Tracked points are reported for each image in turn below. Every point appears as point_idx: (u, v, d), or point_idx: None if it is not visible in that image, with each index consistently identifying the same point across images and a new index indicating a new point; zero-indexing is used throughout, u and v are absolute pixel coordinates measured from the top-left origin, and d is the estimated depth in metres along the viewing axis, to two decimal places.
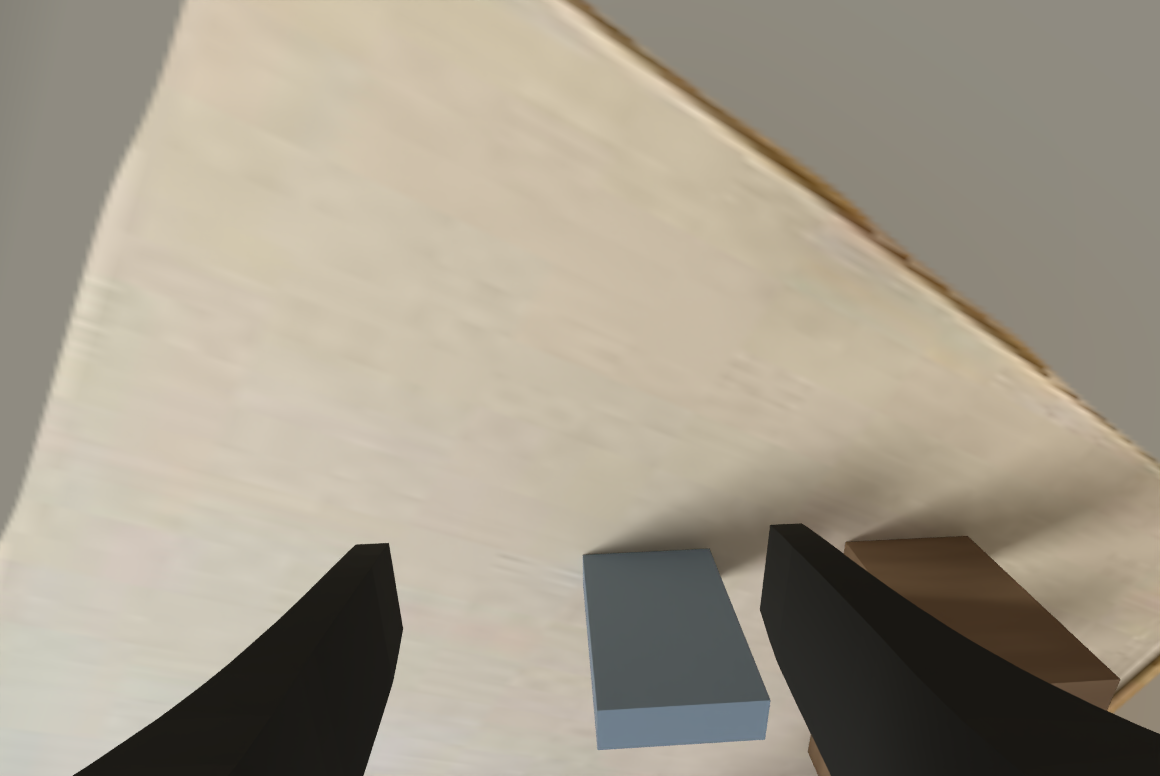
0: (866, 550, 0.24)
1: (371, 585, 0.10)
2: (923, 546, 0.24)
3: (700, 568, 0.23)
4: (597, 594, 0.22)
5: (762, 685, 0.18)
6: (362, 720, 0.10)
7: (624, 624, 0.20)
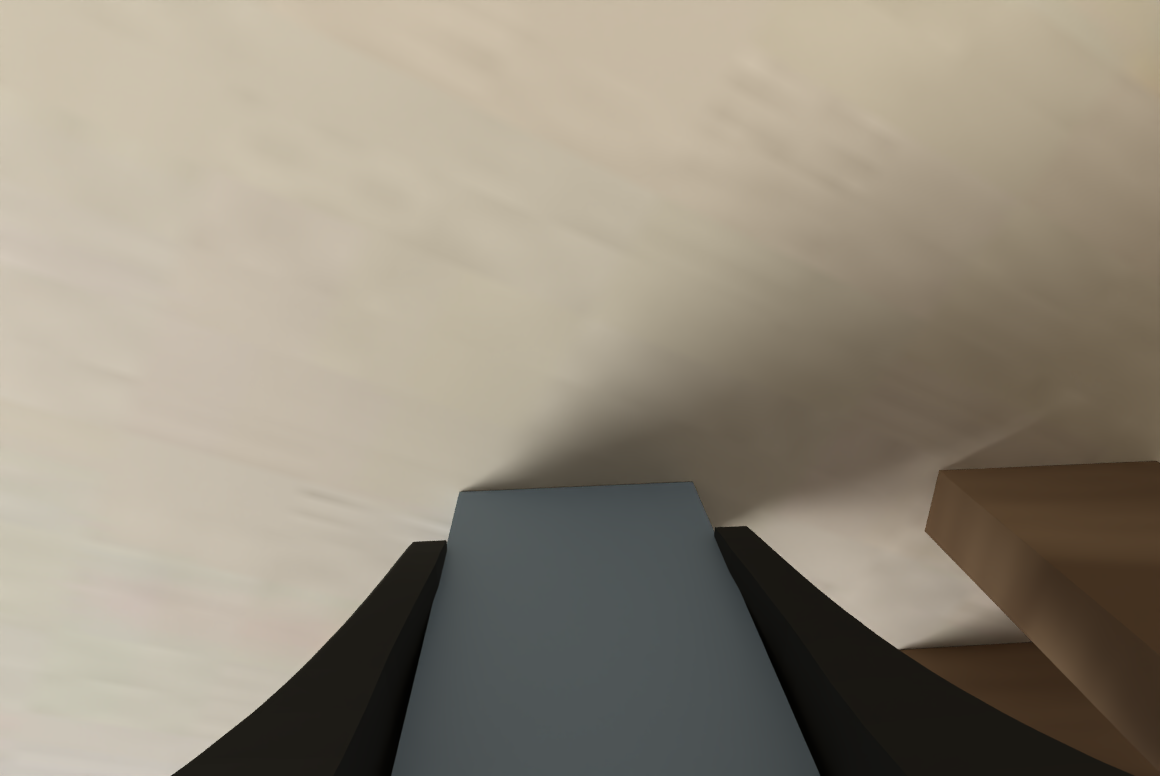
0: (980, 483, 0.13)
1: (435, 582, 0.10)
2: (1083, 476, 0.13)
3: (673, 513, 0.12)
4: (465, 559, 0.11)
5: (812, 769, 0.07)
6: None
7: (504, 618, 0.09)
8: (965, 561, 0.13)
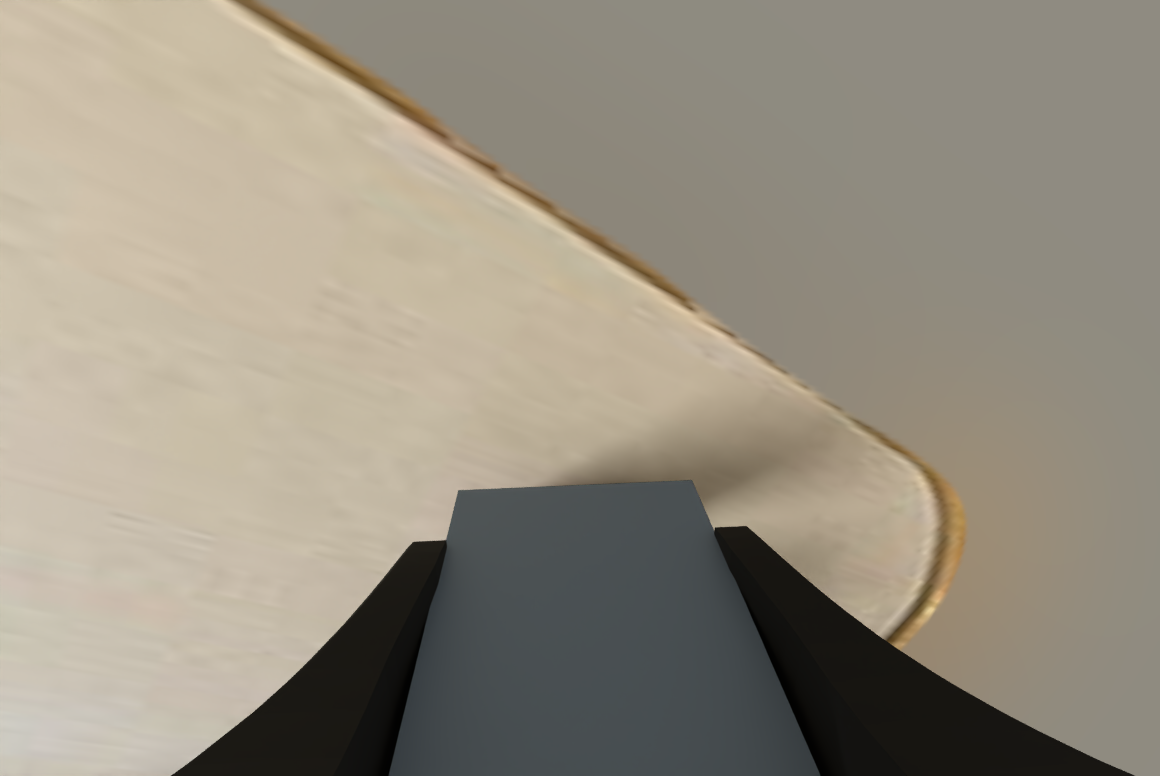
0: None
1: (434, 582, 0.10)
2: None
3: (673, 511, 0.12)
4: (463, 557, 0.11)
5: (812, 768, 0.07)
6: None
7: (503, 616, 0.09)
8: None
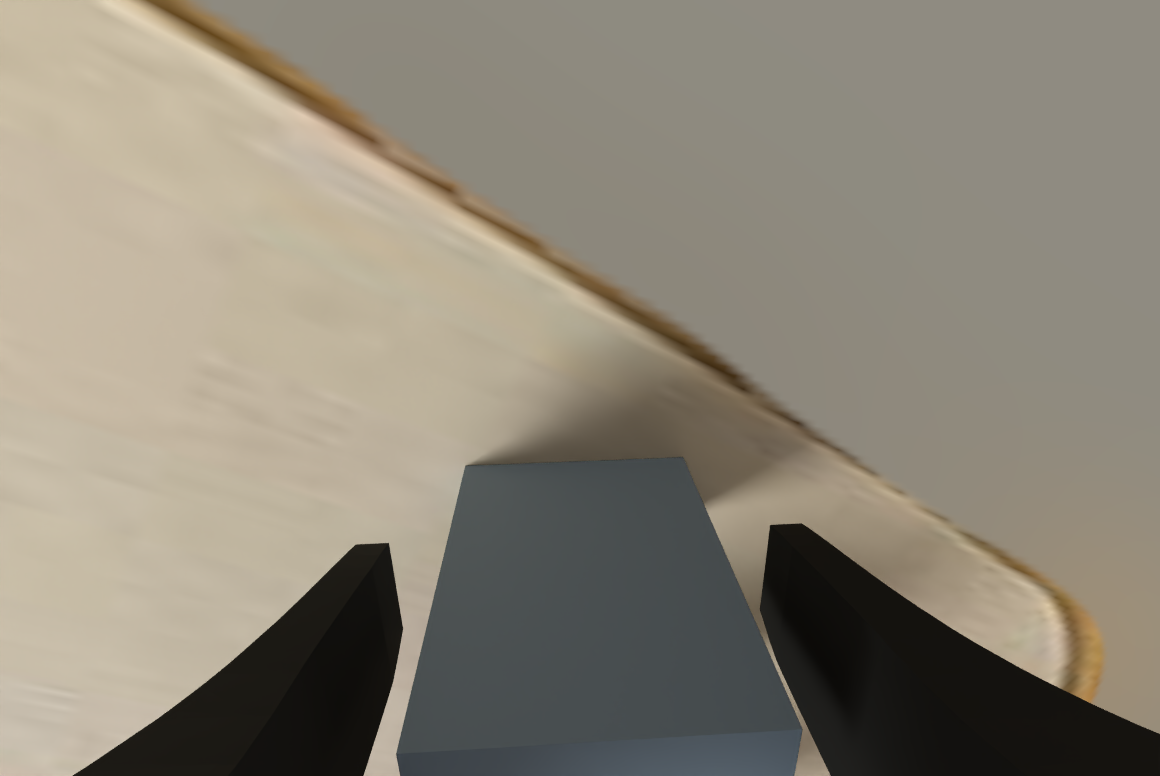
0: None
1: (370, 585, 0.10)
2: None
3: (665, 484, 0.13)
4: (471, 523, 0.12)
5: (782, 694, 0.08)
6: (362, 720, 0.10)
7: (508, 572, 0.10)
8: None
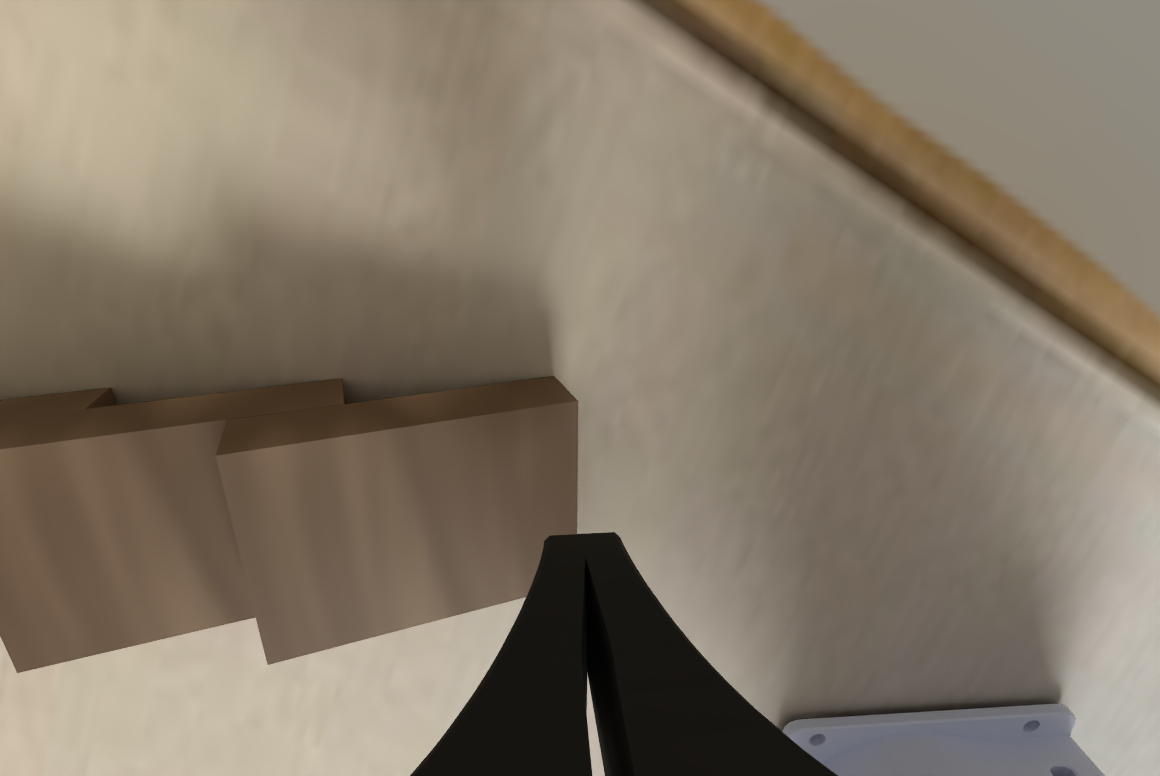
0: None
1: (585, 574, 0.10)
2: None
3: None
4: None
5: None
6: None
7: None
8: None
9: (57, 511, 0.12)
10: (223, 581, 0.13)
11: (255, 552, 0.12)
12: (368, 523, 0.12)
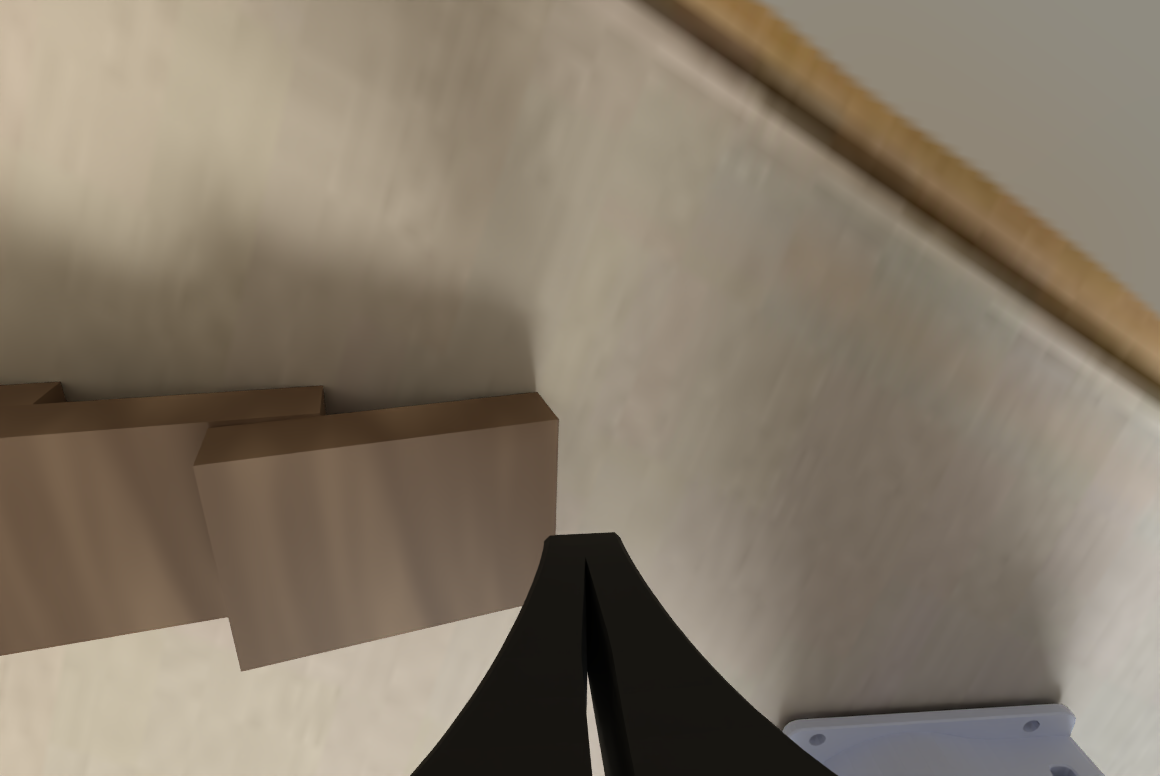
0: None
1: (585, 574, 0.10)
2: None
3: None
4: None
5: None
6: None
7: None
8: None
9: (27, 503, 0.12)
10: (190, 581, 0.14)
11: (231, 561, 0.12)
12: (345, 535, 0.13)
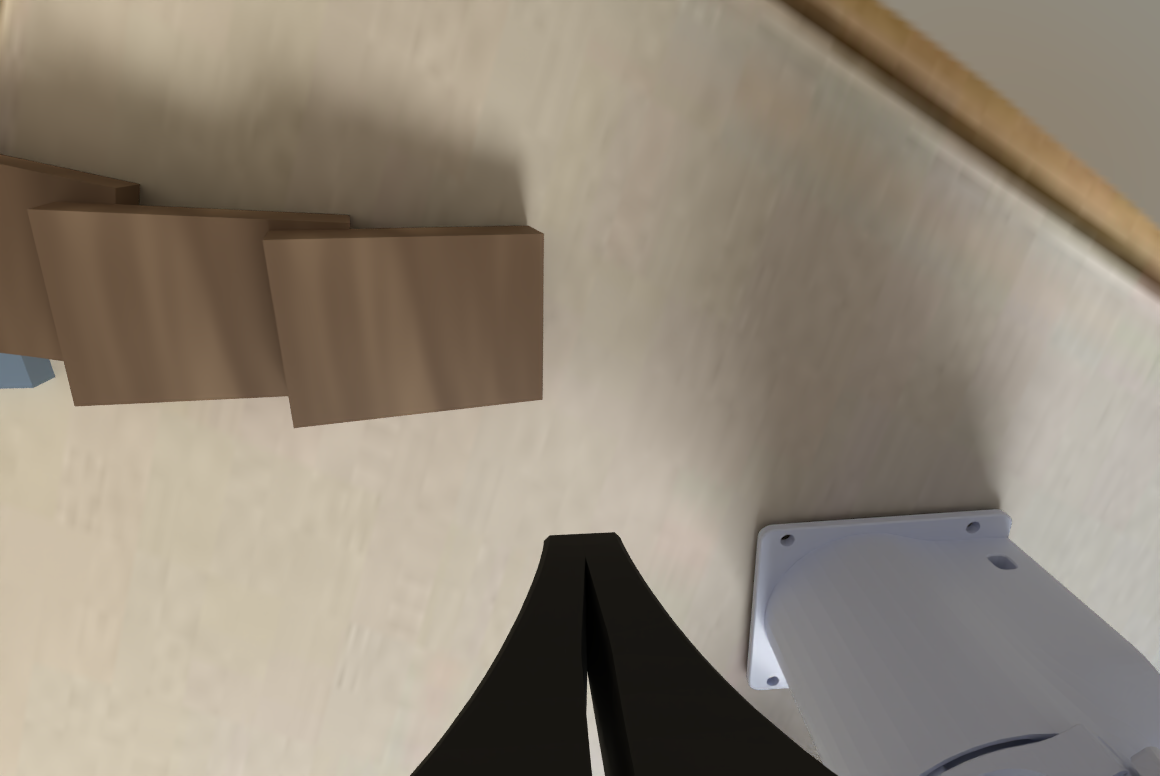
0: None
1: (585, 574, 0.10)
2: None
3: None
4: None
5: None
6: None
7: None
8: None
9: (121, 272, 0.15)
10: (240, 360, 0.17)
11: (288, 327, 0.15)
12: (375, 315, 0.16)
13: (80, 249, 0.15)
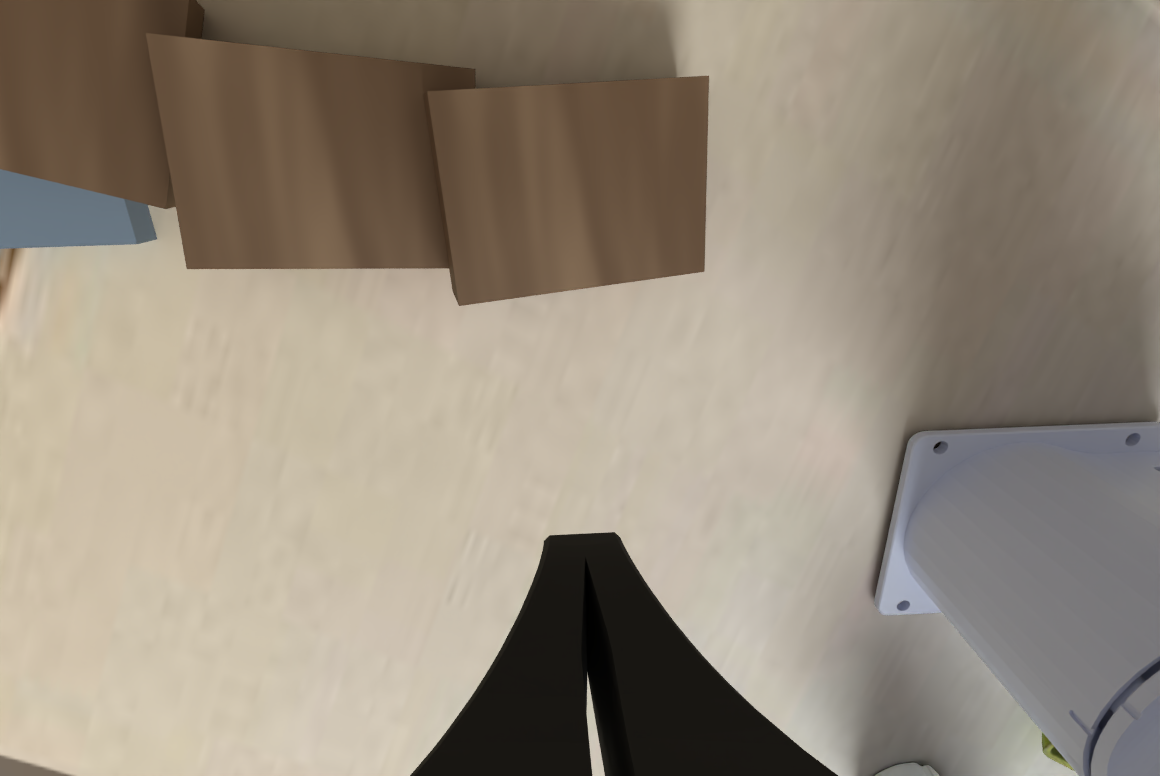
0: None
1: (585, 574, 0.10)
2: None
3: None
4: None
5: None
6: None
7: None
8: None
9: (240, 113, 0.14)
10: (358, 223, 0.16)
11: (453, 191, 0.15)
12: (538, 177, 0.15)
13: (199, 84, 0.13)
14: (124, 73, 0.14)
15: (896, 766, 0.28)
